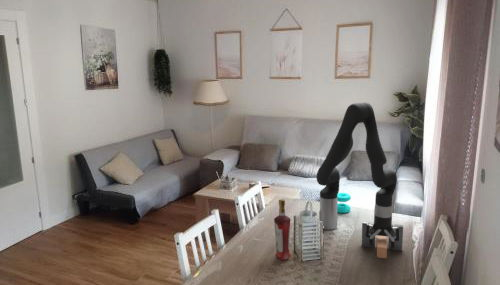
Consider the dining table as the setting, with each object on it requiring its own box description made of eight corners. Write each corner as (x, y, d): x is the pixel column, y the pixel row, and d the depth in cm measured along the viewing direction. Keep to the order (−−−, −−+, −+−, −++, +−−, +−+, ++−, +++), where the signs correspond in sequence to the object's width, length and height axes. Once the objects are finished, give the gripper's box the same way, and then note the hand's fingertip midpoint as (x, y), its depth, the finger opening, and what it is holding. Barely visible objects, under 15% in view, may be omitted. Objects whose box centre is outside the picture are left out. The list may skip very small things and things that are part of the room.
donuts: (334, 197, 216) (332, 192, 225) (334, 213, 218) (332, 207, 227) (352, 197, 215) (349, 191, 224) (351, 213, 217) (348, 207, 226)
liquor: (272, 256, 171) (270, 198, 166) (286, 252, 174) (285, 196, 169) (279, 263, 165) (278, 204, 159) (294, 259, 167) (293, 201, 162)
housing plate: (361, 246, 177) (362, 223, 175) (361, 244, 179) (362, 221, 177) (402, 251, 171) (403, 226, 169) (401, 249, 173) (402, 225, 171)
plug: (377, 257, 167) (377, 246, 166) (376, 237, 185) (377, 228, 184) (386, 258, 166) (386, 248, 165) (385, 238, 184) (385, 229, 183)
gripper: (366, 215, 164) (365, 248, 167) (400, 218, 159) (398, 253, 162) (366, 209, 171) (365, 241, 174) (399, 212, 166) (397, 245, 169)
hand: (381, 246), depth 168 cm, fingers open, 8 cm apart
